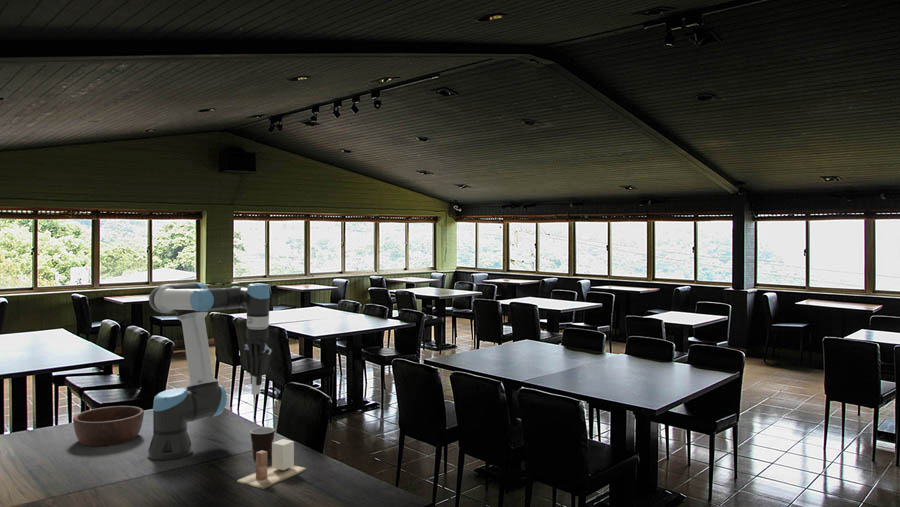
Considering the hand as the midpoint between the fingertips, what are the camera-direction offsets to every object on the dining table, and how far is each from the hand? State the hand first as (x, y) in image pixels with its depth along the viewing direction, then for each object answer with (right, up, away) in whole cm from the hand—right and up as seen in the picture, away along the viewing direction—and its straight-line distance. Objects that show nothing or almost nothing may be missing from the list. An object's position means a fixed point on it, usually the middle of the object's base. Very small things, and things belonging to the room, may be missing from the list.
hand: (255, 393), depth 223 cm
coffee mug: (0, -26, +12) cm, 29 cm away
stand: (+8, -26, -8) cm, 29 cm away
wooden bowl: (-68, -25, +30) cm, 79 cm away
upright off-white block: (+11, -25, -3) cm, 27 cm away
